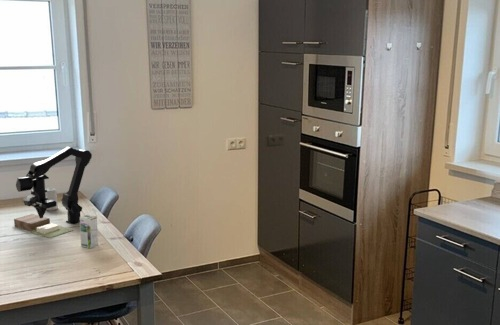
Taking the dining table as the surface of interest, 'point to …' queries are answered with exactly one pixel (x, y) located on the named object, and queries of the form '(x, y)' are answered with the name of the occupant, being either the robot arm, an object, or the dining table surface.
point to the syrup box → (88, 231)
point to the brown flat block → (31, 222)
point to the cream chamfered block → (47, 228)
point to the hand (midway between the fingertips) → (41, 218)
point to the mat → (53, 233)
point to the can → (51, 197)
